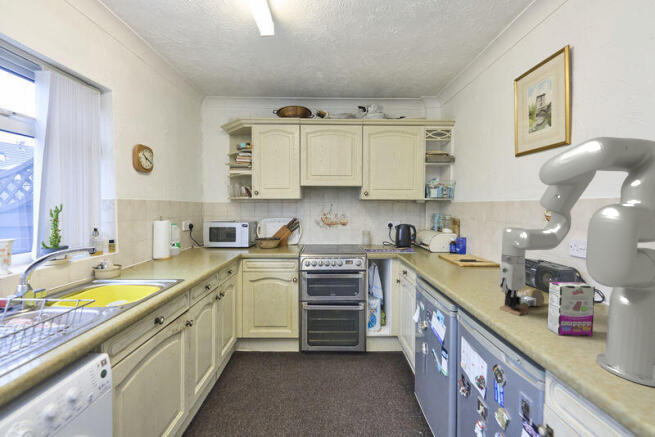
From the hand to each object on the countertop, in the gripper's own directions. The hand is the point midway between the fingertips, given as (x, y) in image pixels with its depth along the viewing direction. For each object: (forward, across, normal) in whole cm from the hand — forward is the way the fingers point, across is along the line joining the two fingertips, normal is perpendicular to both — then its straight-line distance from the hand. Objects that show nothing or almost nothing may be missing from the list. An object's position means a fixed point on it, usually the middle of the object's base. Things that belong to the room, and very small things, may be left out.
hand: (510, 305), depth 103 cm
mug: (+3, +17, +2) cm, 18 cm away
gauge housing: (+3, +2, 0) cm, 4 cm away
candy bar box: (+3, 0, -18) cm, 18 cm away
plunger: (+1, +8, 0) cm, 8 cm away
